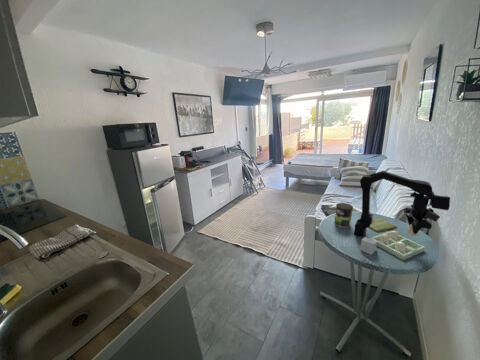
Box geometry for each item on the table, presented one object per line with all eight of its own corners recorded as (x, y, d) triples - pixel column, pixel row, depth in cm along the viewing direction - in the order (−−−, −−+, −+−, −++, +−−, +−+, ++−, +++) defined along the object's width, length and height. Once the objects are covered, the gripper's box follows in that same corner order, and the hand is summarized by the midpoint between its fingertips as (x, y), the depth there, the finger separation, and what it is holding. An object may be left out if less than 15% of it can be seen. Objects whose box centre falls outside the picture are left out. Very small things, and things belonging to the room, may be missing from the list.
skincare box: (371, 256, 108) (373, 244, 106) (359, 250, 112) (361, 239, 110) (376, 251, 111) (378, 240, 109) (364, 246, 116) (366, 235, 114)
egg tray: (402, 261, 103) (404, 255, 102) (369, 242, 119) (370, 237, 118) (423, 252, 109) (425, 247, 108) (389, 235, 125) (390, 231, 124)
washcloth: (360, 225, 140) (361, 221, 139) (379, 220, 144) (380, 216, 143) (377, 234, 128) (378, 230, 127) (398, 229, 132) (399, 225, 131)
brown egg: (409, 235, 108) (411, 225, 106) (406, 231, 112) (408, 221, 110) (419, 236, 106) (422, 226, 105) (415, 232, 110) (418, 222, 109)
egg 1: (384, 246, 114) (386, 237, 112) (377, 242, 117) (378, 233, 116) (389, 244, 115) (391, 235, 113) (382, 240, 119) (384, 231, 117)
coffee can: (343, 229, 134) (345, 210, 130) (331, 222, 143) (333, 204, 139) (353, 225, 138) (356, 207, 134) (341, 219, 147) (343, 201, 143)
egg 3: (401, 255, 106) (403, 245, 104) (392, 251, 110) (394, 241, 108) (406, 253, 107) (408, 243, 106) (397, 248, 111) (399, 239, 110)
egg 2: (394, 243, 116) (396, 233, 115) (386, 239, 120) (388, 230, 119) (399, 241, 118) (401, 232, 116) (391, 237, 122) (393, 228, 120)
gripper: (449, 215, 93) (441, 244, 98) (430, 200, 110) (424, 225, 114) (419, 212, 97) (412, 239, 102) (406, 198, 114) (400, 222, 118)
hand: (413, 231), depth 109 cm, fingers closed on brown egg, 4 cm apart
